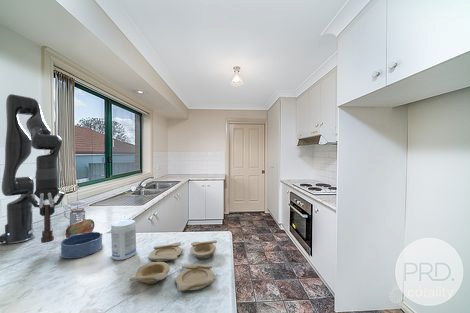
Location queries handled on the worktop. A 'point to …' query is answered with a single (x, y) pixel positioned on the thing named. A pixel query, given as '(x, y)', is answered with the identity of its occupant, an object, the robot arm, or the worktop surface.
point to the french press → (76, 211)
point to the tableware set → (188, 278)
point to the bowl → (81, 244)
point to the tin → (80, 227)
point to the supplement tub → (123, 239)
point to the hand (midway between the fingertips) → (47, 214)
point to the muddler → (47, 226)
